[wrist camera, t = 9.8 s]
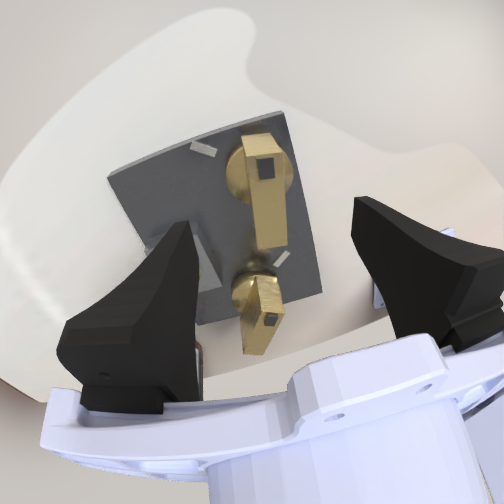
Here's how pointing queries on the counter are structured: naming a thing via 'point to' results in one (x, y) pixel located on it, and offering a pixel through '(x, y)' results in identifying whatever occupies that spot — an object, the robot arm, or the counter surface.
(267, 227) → the knob
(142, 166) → the instrument base
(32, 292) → the counter surface
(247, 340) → the knob
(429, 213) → the counter surface
